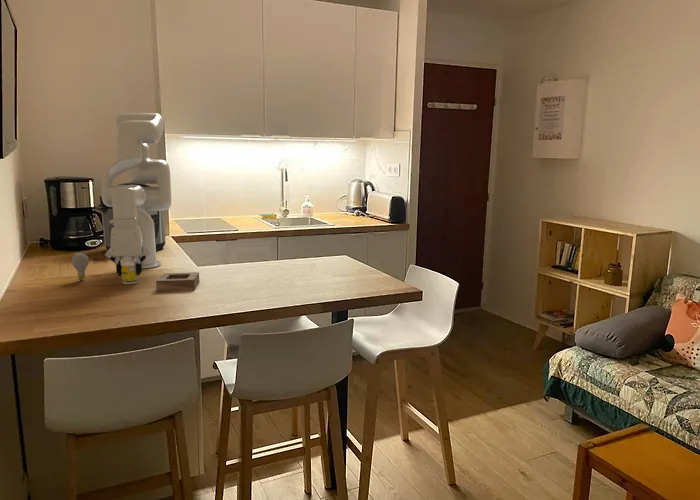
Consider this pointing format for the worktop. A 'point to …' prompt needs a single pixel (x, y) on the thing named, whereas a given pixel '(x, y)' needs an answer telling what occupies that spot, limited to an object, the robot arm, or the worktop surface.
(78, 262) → the light bulb
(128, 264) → the supplement bottle
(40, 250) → the worktop surface
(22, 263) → the worktop surface
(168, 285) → the socket block
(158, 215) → the pressure cooker
